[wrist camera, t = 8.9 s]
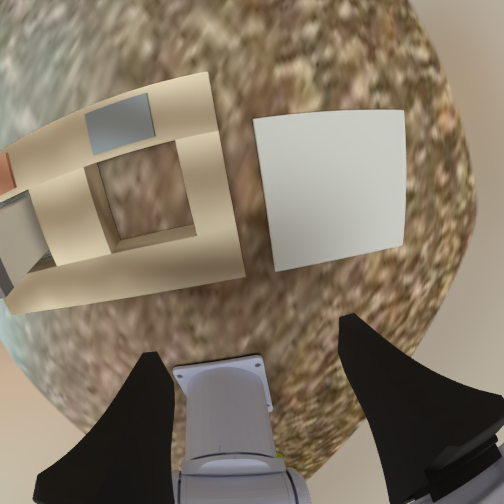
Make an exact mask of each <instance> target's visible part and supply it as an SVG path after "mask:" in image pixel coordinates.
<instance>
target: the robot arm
mask: <svg viewBox="0 0 504 504" xmlns="http://www.w3.org/2000/svg"><path fill="white" fill-rule="evenodd" d="M338 354H339V357H340V360H341V363H342V366H343V368H344V371H345V374H346V376H347V378H348V380H349V382H350V384H351V386H352V388H353V390H354V392H355V394H356V397H357V399H358V401H359V403H360V405H361V407H362V409H363V411H364V413H365V415H366V418H367V420H368V422H369V425H370V428H371V431H372V434H373V437H374V440H375V443H376V447H377V450H378V454H379V457H380V461H381V464H382V468H383V472H384V476H385V481H386V486H387V491H388V496H389V502H390V504H407V503H409V502H411V501H413V500H415V501H414V502H412V503H410V504H504V443H503V444H502V445H501V446H499V447H497V446H496V444H495V443H496V442H497V441H498V438H497V436H496V435H495V434H496V433H497V432H498V431H499V429H500V428H501V427H502V426H503V425H504V398H503V397H502V396H501V395H498V394H494V393H489V392H485V391H481V390H478V389H474V388H472V387H469V386H466V385H463V384H461V383H458V382H456V381H453V380H451V379H449V378H446V377H444V376H442V375H440V374H438V373H436V372H434V371H432V370H430V369H429V368H427V367H425V366H423V365H422V364H420V363H418V362H417V361H415V360H414V359H412V358H411V357H409V356H408V355H406V354H405V353H403V352H402V351H400V350H399V349H398V348H396V347H395V346H394V345H392V344H391V343H390V342H389V341H387V340H386V339H385V338H383V337H382V336H381V335H380V334H378V333H377V332H376V331H375V330H374V329H372V328H371V327H370V326H369V325H368V324H366V323H365V322H364V321H363V320H362V319H361V318H359V317H358V316H357V315H356V314H354V313H352V314H349V315H345V316H341V317H339V340H338ZM257 363H259V364H257ZM173 374H174V376H175V378H176V380H177V382H178V383H179V385H180V387H181V389H182V390H183V392H184V394H185V396H186V397H187V406H186V438H185V460H182V472H181V471H179V470H174V471H172V472H171V442H172V431H173V420H174V408H175V392H174V381H173V380H172V378H171V376H170V374H169V373H168V371H167V369H166V367H165V366H164V364H163V362H162V360H161V358H160V357H159V355H158V353H157V351H156V352H147V353H143V354H142V355H141V357H140V358H139V360H138V362H137V363H136V365H135V366H134V368H133V370H132V371H131V373H130V375H129V376H128V378H127V380H126V381H125V383H124V384H123V386H122V387H121V389H120V391H119V392H118V394H117V395H116V397H115V398H114V400H113V401H112V403H111V404H110V406H109V407H108V408H107V410H106V411H105V413H104V414H103V415H102V417H101V418H100V419H99V421H98V422H97V423H96V424H95V425H94V426H93V428H92V429H91V430H90V431H89V432H88V433H87V434H86V435H85V436H84V437H83V439H82V440H81V441H80V442H79V443H78V444H77V445H76V446H75V447H74V448H73V449H71V450H70V451H69V452H68V453H67V454H66V455H65V456H63V457H62V458H61V459H60V460H58V461H57V462H56V463H54V464H53V465H52V466H50V467H49V468H47V469H46V470H44V471H43V472H41V473H40V474H38V475H37V480H36V484H35V489H34V494H33V501H34V502H35V503H37V504H311V499H310V494H309V490H308V487H307V484H306V482H305V480H304V478H303V476H302V475H301V474H300V473H298V472H297V471H296V470H295V469H294V468H291V467H288V468H285V464H284V459H283V458H277V456H276V450H275V445H274V440H273V434H272V429H271V423H270V418H269V412H271V411H272V410H273V407H272V402H271V397H270V392H269V387H268V383H267V378H266V373H265V368H264V363H263V358H262V356H260V355H253V356H247V357H242V358H236V359H230V360H223V361H217V362H210V363H202V364H195V365H187V366H178V367H174V368H173Z"/></svg>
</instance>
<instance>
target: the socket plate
mask: <svg viewBox="0 0 504 504" xmlns="http://www.w3.org/2000/svg"><path fill="white" fill-rule="evenodd" d="M173 140H175V142H176V146H177V151H178V156H179V160H180V165H181V170H182V174H183V178H184V183H185V187H186V192H187V196H188V200H189V204H190V208H191V213H192V217H193V221H194V224H192V225H188V226H183V227H178V228H173V229H168V230H164V231H159V232H155V233H150V234H145V235H141V236H136V237H132V238H128V239H123V240H120V237H119V234H118V231H117V228H116V225H115V222H114V219H113V216H112V213H111V210H110V207H109V203H108V200H107V197H106V193H105V190H104V187H103V183H102V179H101V176H100V172H99V168H98V164H97V162H100V161H103V160H106V159H109V158H112V157H115V156H118V155H122V154H125V153H128V152H132V151H135V150H139V149H142V148H146V147H149V146H153V145H157V144H161V143H165V142H169V141H173ZM26 190H29V193H30V197H31V200H32V203H33V206H34V209H35V212H36V215H37V218H38V220H39V223H40V226H41V229H42V231H43V234H44V236H45V239H46V242H47V244H48V246H49V249H50V251H51V254H52V256H53V257H50V258H46V259H43V260H39V261H38V262H37V263H36V264H35V265H34V266H33V267H32V268H31V269H30V270H29V271H28V273H27V274H26V275H25V276H24V277H23V278H22V279H21V280H20V282H19V283H18V284H17V285H16V286H15V287H14V289H13V290H12V291H11V292H10V293H9V295H8V296H7V297H6V298H3V300H4V302H5V303H6V305H7V307H8V309H9V310H10V312H11V314H12V315H13V314H21V313H28V312H36V311H43V310H50V309H57V308H64V307H71V306H78V305H84V304H91V303H97V302H104V301H110V300H116V299H123V298H129V297H135V296H141V295H147V294H153V293H159V292H165V291H171V290H176V289H182V288H188V287H194V286H199V285H205V284H210V283H216V282H221V281H227V280H232V279H237V278H243V277H246V274H245V269H244V263H243V258H242V252H241V247H240V242H239V237H238V232H237V226H236V221H235V216H234V211H233V205H232V200H231V195H230V189H229V184H228V179H227V173H226V168H225V163H224V157H223V152H222V146H221V141H220V135H219V130H218V124H217V119H216V113H215V108H214V102H213V96H212V91H211V85H210V79H209V75H208V71H207V72H202V73H197V74H192V75H188V76H183V77H179V78H175V79H171V80H167V81H163V82H159V83H156V84H152V85H149V86H145V87H142V88H139V89H135V90H132V91H129V92H126V93H123V94H120V95H117V96H114V97H111V98H109V99H106V100H103V101H100V102H98V103H95V104H93V105H90V106H88V107H85V108H83V109H80V110H78V111H76V112H73V113H71V114H69V115H67V116H64V117H62V118H60V119H58V120H56V121H54V122H52V123H49V124H47V125H45V126H43V127H41V128H39V129H38V130H36V131H34V132H32V133H30V134H28V135H26V136H24V137H23V138H21V139H19V140H17V141H16V142H14V143H12V144H10V145H9V146H7V147H5V148H4V149H2V150H1V151H0V202H2V201H4V200H7V199H9V198H11V197H13V196H15V195H17V194H19V193H21V192H23V191H26Z"/></svg>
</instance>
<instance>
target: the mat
mask: <svg viewBox="0 0 504 504" xmlns="http://www.w3.org/2000/svg"><path fill="white" fill-rule="evenodd" d="M252 122H253V128H254V134H255V140H256V147H257V153H258V159H259V166H260V172H261V179H262V186H263V192H264V199H265V206H266V213H267V220H268V227H269V234H270V241H271V248H272V255H273V263H274V269H275V272H278V271H283V270H288V269H293V268H298V267H303V266H308V265H313V264H318V263H323V262H328V261H332V260H337V259H342V258H347V257H351V256H356V255H361V254H365V253H370V252H375V251H379V250H384V249H388V248H393V247H397V246H402V245H403V236H404V222H405V204H406V139H405V121H404V110H339V111H322V112H309V113H298V114H288V115H279V116H271V117H263V118H256V119H252Z"/></svg>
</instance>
